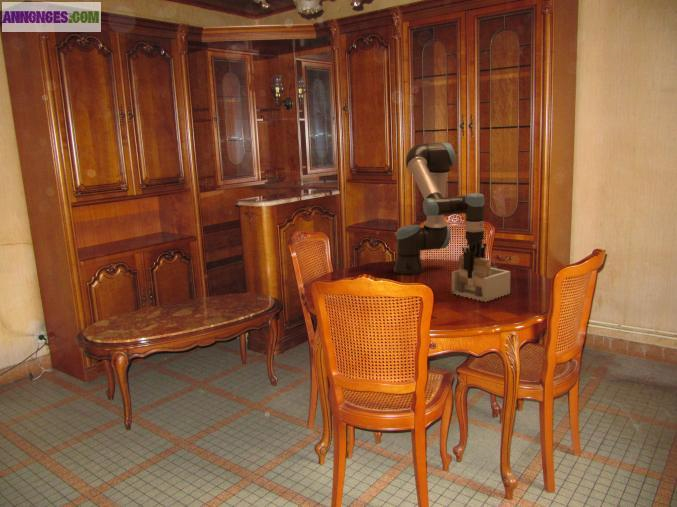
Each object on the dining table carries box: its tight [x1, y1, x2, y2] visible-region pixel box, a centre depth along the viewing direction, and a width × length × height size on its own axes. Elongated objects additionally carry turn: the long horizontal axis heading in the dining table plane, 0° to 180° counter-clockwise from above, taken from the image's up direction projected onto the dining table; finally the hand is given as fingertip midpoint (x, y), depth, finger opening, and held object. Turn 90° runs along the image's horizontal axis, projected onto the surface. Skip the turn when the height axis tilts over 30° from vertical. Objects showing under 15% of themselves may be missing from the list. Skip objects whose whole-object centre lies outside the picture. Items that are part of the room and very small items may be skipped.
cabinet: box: [451, 268, 511, 303], centre depth 250 cm, size 17×18×10 cm
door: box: [458, 254, 492, 293], centre depth 246 cm, size 5×14×14 cm, turn 39°
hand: (474, 284), depth 248 cm, fingers closed on door, 3 cm apart
